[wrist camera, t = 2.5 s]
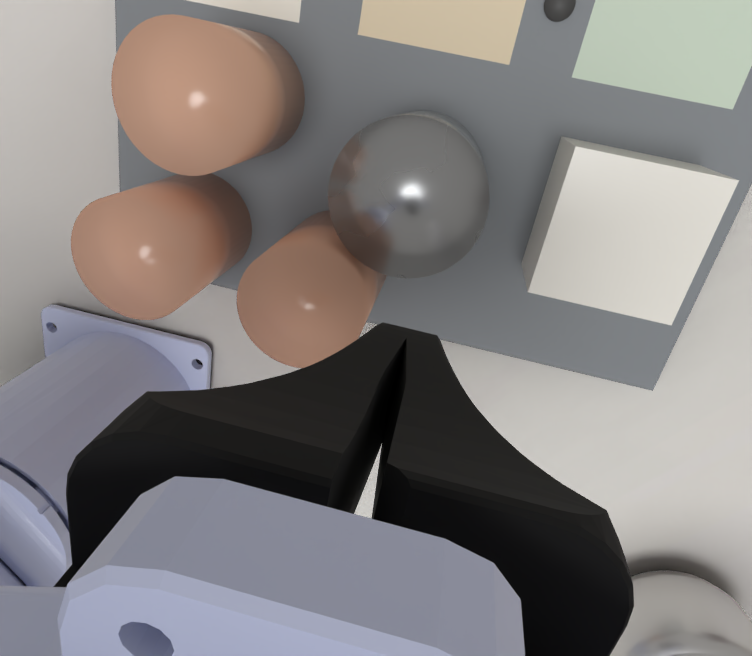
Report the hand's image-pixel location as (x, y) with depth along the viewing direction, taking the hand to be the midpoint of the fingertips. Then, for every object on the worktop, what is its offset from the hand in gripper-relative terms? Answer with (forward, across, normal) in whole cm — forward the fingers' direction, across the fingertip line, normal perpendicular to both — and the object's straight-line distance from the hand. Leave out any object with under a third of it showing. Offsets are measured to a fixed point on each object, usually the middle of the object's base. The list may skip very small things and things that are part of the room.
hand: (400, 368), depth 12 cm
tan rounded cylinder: (+9, +8, -4) cm, 13 cm away
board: (+10, +2, -4) cm, 11 cm away
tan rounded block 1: (+9, +9, +1) cm, 13 cm away
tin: (+9, +1, -2) cm, 10 cm away
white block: (+9, -6, -2) cm, 11 cm away
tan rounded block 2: (+9, +4, +1) cm, 10 cm away
